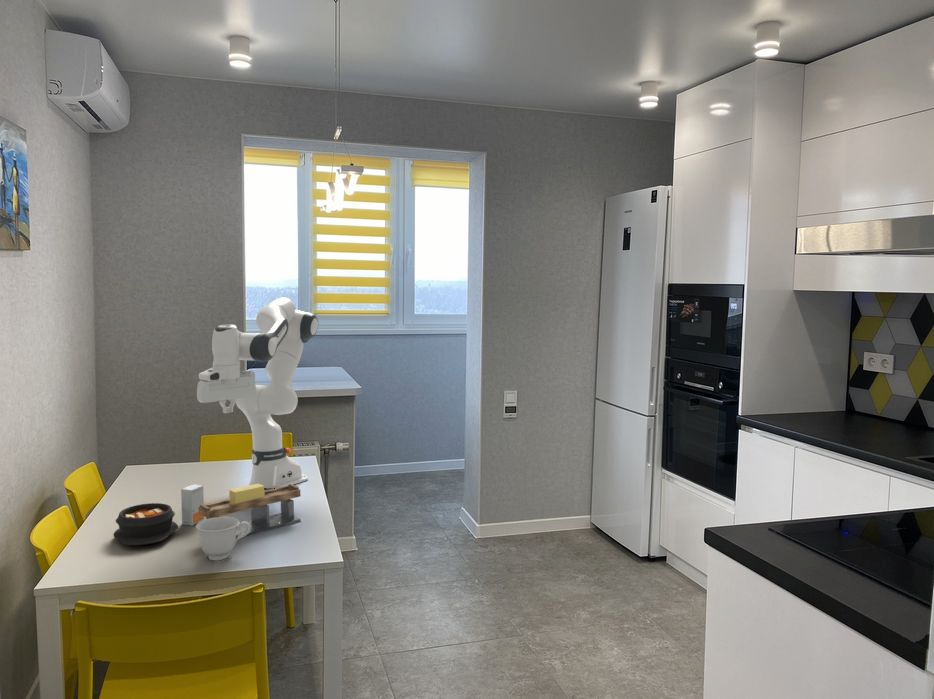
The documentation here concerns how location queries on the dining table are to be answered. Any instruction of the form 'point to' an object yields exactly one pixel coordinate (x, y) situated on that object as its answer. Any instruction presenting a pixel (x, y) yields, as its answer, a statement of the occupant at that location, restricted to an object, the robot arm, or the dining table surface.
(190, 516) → the skincare box
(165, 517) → the casserole
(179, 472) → the dining table surface
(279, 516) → the fulcrum stand
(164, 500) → the dining table surface
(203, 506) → the balance plank
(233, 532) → the teacup
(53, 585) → the dining table surface
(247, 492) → the slider block
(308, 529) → the dining table surface
